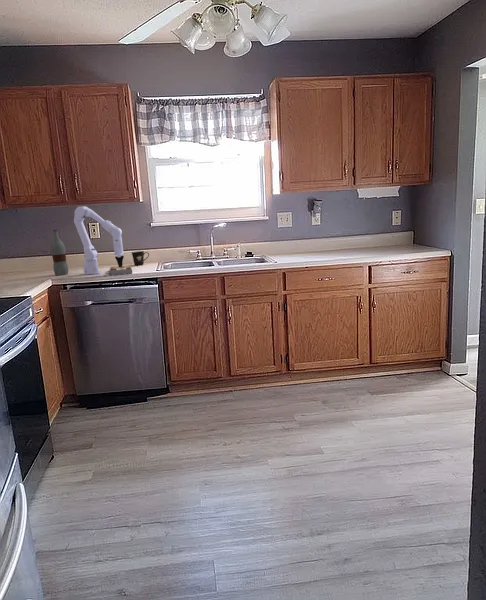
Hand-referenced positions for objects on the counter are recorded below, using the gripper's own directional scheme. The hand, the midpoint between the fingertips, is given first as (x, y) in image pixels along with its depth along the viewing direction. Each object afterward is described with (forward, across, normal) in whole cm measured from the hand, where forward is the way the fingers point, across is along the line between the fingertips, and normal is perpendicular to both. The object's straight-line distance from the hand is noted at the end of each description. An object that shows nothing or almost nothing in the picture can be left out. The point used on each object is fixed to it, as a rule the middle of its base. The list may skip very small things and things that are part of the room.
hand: (120, 266), depth 309 cm
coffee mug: (+4, +26, -14) cm, 30 cm away
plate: (+3, +5, 0) cm, 6 cm away
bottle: (+4, +12, +39) cm, 41 cm away
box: (+3, -6, 0) cm, 7 cm away
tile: (+3, -5, 0) cm, 6 cm away
